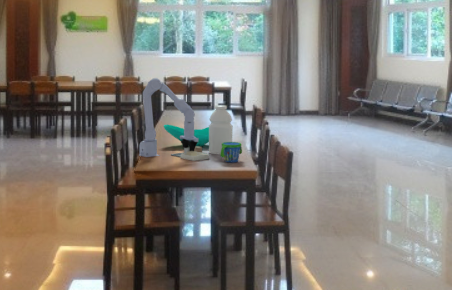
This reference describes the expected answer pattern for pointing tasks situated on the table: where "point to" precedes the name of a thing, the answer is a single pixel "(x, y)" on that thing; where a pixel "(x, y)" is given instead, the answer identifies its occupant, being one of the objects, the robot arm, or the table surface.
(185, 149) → the light grey cube
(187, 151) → the cream cube
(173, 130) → the table top decor
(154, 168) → the table surface
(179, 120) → the table surface
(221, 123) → the bottle
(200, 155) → the dish
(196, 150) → the tan cube
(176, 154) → the parts tray
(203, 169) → the table surface
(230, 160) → the snack cup
